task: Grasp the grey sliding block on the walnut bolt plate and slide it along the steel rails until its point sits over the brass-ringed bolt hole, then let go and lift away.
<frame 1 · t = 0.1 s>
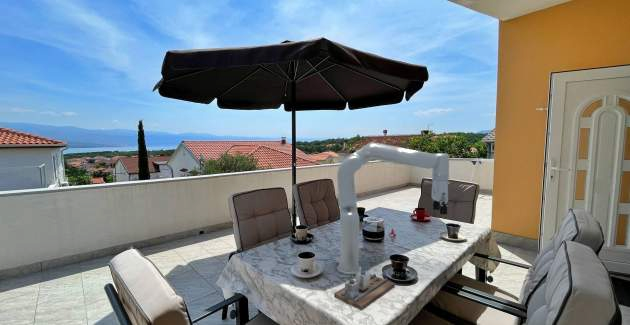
hand: (439, 211, 139), 31 cm above the table, tool pointing down, fingers open, 9 cm apart
bolt plate: (365, 291, 122), on the table
grey sliding block: (363, 280, 121), point 6 cm above the table, slide at 0.0 cm
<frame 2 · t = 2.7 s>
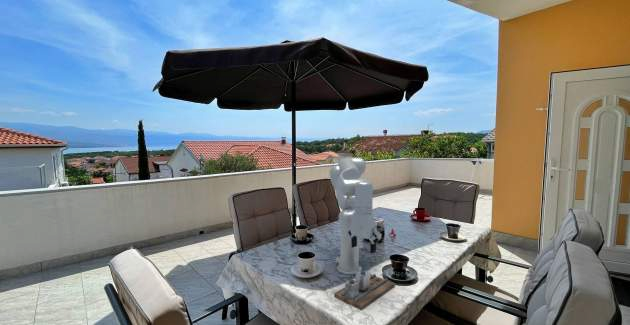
hand: (363, 249, 120), 19 cm above the table, tool pointing down, fingers open, 9 cm apart
nothing on the table moved.
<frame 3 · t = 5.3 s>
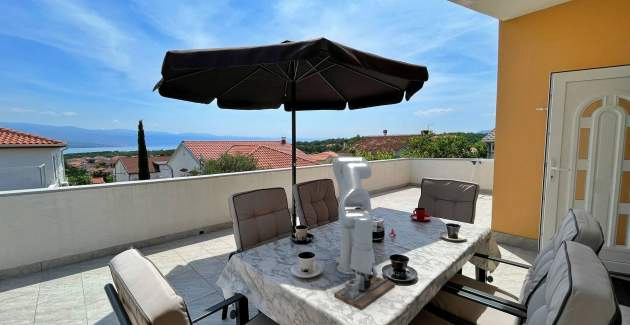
hand: (362, 285, 121), 3 cm above the table, tool pointing down, fingers closed on grey sliding block, 4 cm apart
grey sliding block: (363, 280, 121), point 6 cm above the table, slide at 0.0 cm, touching gripper
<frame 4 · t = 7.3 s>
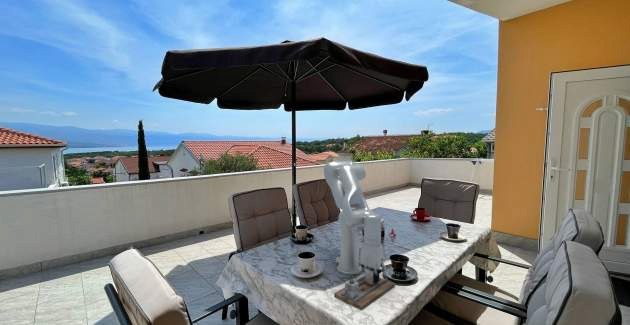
hand: (371, 280, 126), 3 cm above the table, tool pointing down, fingers closed on grey sliding block, 4 cm apart
grey sliding block: (372, 274, 125), point 6 cm above the table, slide at 7.0 cm, touching gripper
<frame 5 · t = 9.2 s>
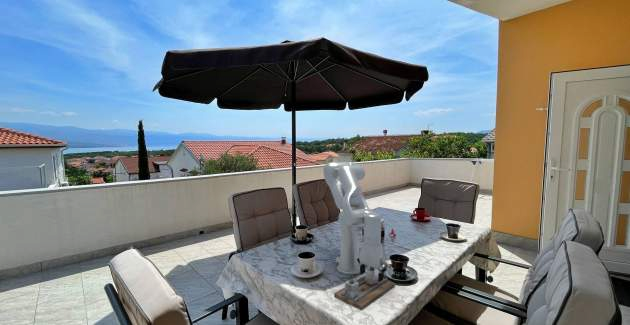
hand: (371, 277, 126), 5 cm above the table, tool pointing down, fingers open, 9 cm apart
grey sliding block: (372, 274, 125), point 6 cm above the table, slide at 7.0 cm
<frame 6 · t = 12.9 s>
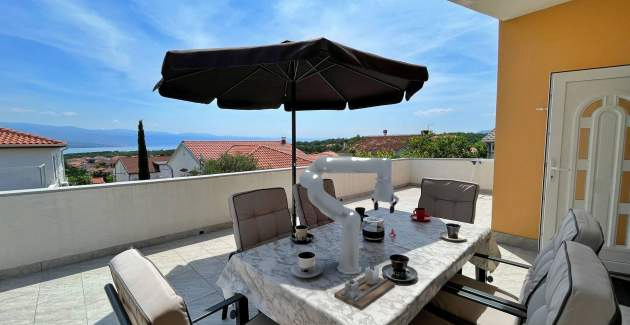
hand: (383, 211, 152), 28 cm above the table, tool pointing down, fingers open, 9 cm apart
nothing on the table moved.
at the end: grey sliding block slide at 7.0 cm; the gripper is holding nothing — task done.
